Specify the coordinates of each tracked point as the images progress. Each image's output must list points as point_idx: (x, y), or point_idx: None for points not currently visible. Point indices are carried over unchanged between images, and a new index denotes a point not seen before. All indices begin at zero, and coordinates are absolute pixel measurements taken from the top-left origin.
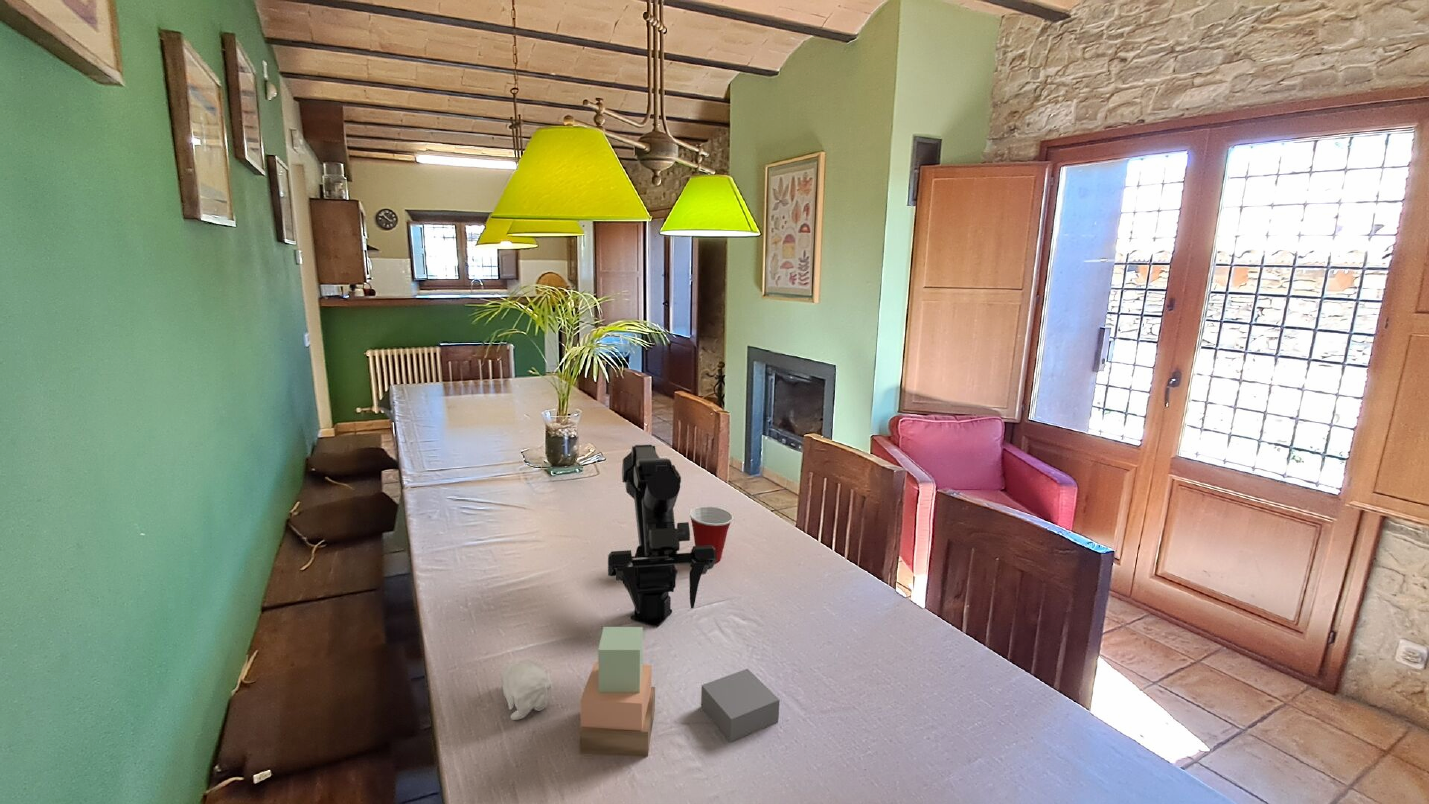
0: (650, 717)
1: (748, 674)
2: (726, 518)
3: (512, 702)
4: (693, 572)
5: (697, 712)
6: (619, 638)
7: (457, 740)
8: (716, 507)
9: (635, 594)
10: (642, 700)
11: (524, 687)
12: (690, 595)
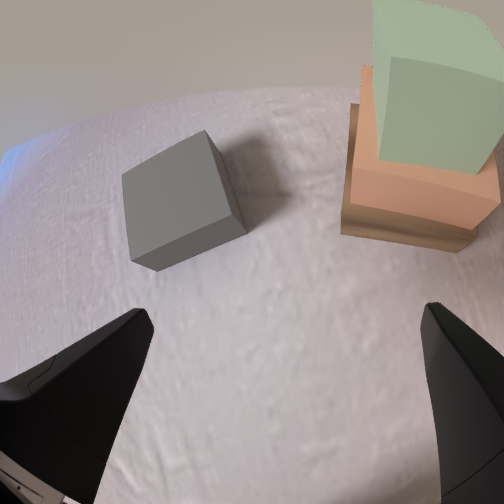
0: (349, 133)
1: (135, 241)
2: None
3: None
4: (10, 398)
5: (257, 219)
6: (449, 29)
7: None
8: None
9: (481, 356)
10: (362, 69)
11: None
12: (121, 367)
